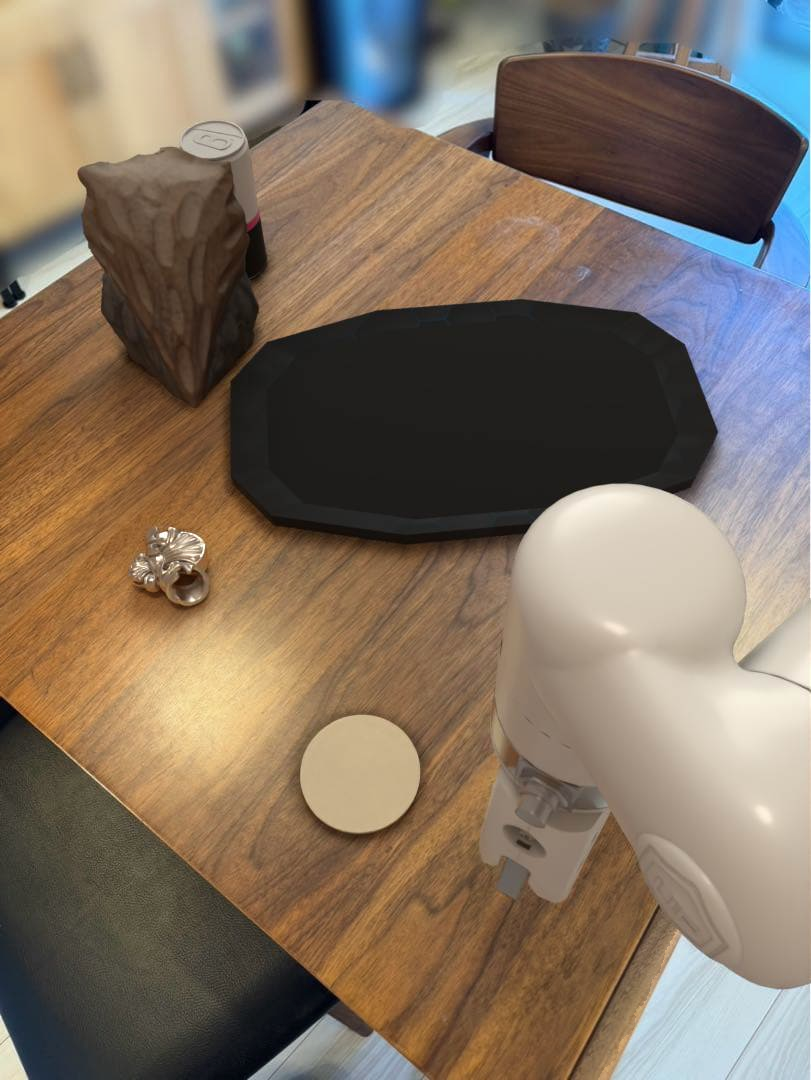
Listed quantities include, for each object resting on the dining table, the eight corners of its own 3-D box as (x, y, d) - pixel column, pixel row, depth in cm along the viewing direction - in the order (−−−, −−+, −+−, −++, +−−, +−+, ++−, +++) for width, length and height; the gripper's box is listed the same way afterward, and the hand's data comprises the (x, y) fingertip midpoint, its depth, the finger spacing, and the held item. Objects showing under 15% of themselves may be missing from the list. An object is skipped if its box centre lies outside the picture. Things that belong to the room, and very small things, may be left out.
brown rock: (110, 348, 91) (42, 174, 74) (205, 285, 96) (161, 109, 79) (191, 412, 86) (138, 242, 69) (286, 342, 91) (258, 168, 74)
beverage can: (248, 291, 95) (223, 166, 83) (196, 274, 97) (164, 148, 84) (278, 254, 99) (259, 128, 86) (227, 238, 100) (201, 111, 87)
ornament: (119, 554, 78) (108, 531, 74) (194, 524, 79) (186, 500, 76) (149, 627, 74) (138, 606, 71) (227, 593, 75) (219, 571, 72)
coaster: (441, 751, 68) (441, 749, 68) (381, 857, 64) (381, 856, 63) (341, 696, 70) (340, 694, 70) (277, 795, 66) (276, 794, 66)
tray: (660, 298, 94) (663, 287, 93) (740, 513, 80) (745, 503, 78) (232, 332, 92) (230, 321, 91) (233, 560, 77) (230, 550, 76)
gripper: (594, 926, 33) (542, 993, 48) (723, 616, 40) (642, 760, 55) (417, 827, 35) (421, 921, 51) (569, 550, 42) (532, 706, 58)
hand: (537, 837), depth 53 cm, fingers closed
